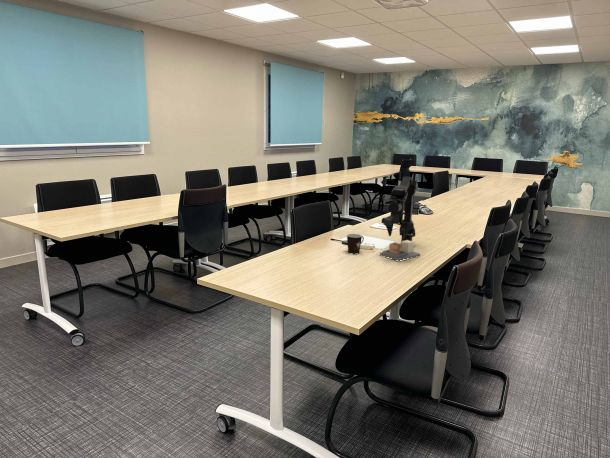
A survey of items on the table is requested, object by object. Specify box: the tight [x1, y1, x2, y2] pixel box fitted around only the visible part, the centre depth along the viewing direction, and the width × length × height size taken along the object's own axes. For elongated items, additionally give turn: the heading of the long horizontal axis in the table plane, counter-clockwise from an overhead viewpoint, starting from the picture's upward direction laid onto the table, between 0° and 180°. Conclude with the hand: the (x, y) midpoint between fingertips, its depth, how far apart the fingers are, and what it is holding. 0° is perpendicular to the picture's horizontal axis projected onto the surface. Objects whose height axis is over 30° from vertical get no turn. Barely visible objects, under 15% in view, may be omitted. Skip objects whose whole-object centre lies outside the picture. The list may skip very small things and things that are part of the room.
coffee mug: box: [346, 233, 365, 255], centre depth 244 cm, size 12×9×10 cm
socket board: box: [379, 240, 421, 262], centre depth 239 cm, size 18×14×8 cm
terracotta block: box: [388, 242, 402, 255], centre depth 237 cm, size 5×5×6 cm
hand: (396, 237), depth 236 cm, fingers open, 9 cm apart
